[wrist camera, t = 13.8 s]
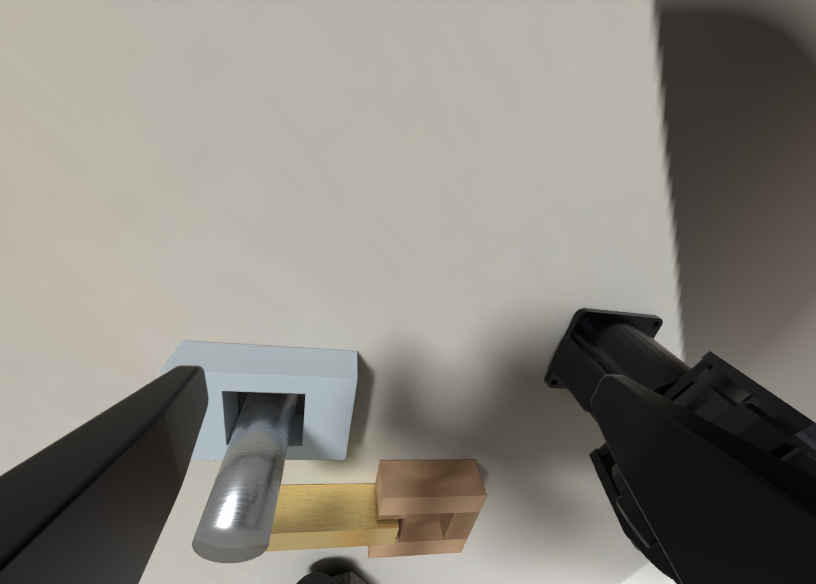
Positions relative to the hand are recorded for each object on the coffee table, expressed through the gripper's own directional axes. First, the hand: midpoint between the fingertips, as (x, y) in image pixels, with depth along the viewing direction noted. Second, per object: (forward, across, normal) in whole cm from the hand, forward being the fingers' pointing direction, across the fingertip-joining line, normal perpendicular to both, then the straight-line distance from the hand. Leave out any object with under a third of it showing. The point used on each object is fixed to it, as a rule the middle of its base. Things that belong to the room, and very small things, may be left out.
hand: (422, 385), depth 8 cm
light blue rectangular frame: (+12, +6, +12) cm, 18 cm away
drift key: (+12, +2, +23) cm, 26 cm away
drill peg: (+12, +6, +12) cm, 18 cm away
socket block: (+12, -6, +23) cm, 27 cm away
